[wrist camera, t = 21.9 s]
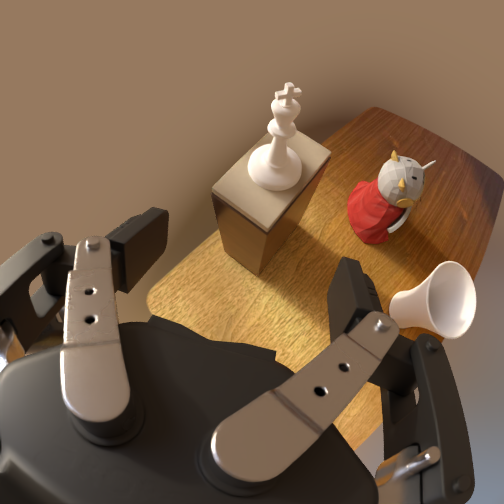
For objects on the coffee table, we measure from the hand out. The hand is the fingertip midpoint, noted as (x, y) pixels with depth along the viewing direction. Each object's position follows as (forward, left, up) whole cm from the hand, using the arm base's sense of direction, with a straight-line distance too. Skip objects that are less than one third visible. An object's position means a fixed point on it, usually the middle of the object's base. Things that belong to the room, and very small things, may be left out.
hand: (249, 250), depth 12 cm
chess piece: (+4, +10, -10) cm, 15 cm away
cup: (+26, -6, -30) cm, 40 cm away
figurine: (+25, +12, -30) cm, 41 cm away
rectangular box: (+4, +10, -29) cm, 31 cm away
